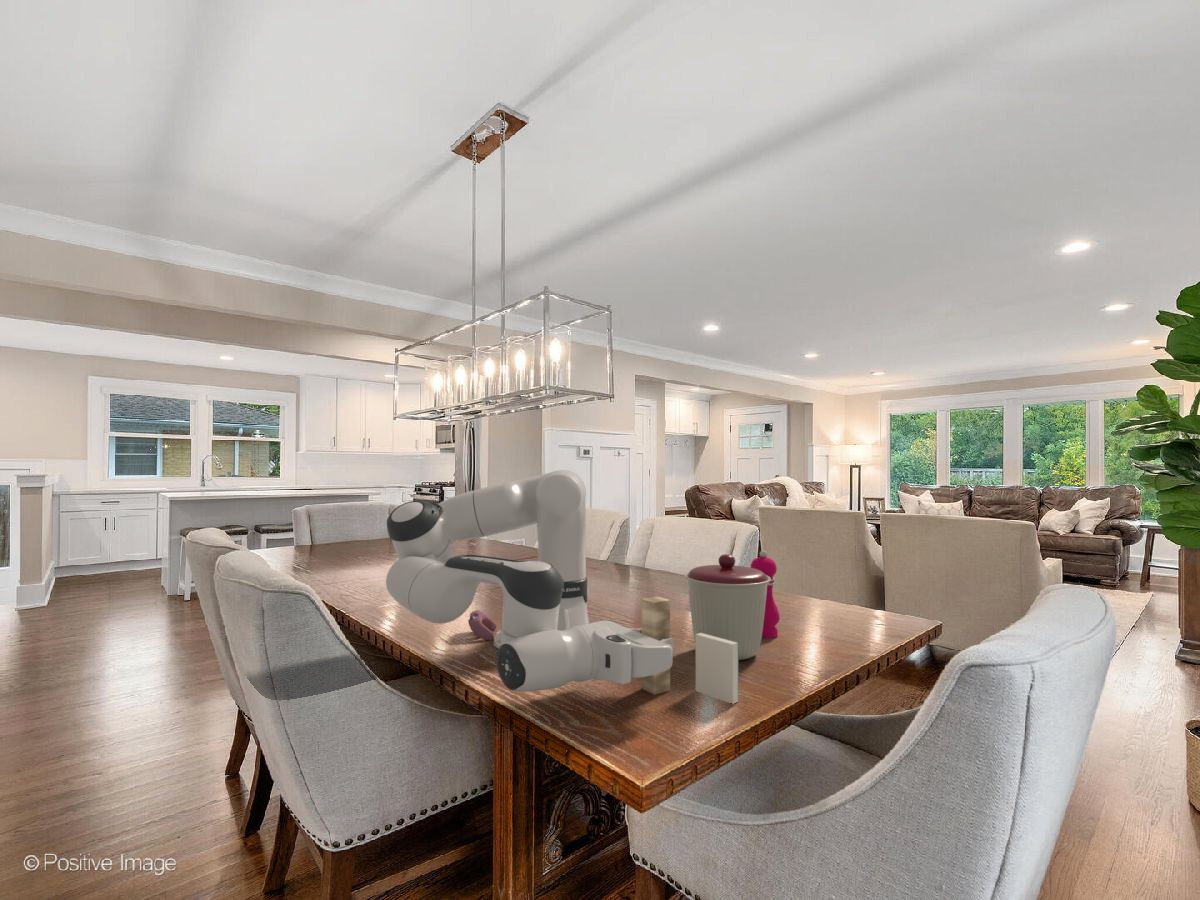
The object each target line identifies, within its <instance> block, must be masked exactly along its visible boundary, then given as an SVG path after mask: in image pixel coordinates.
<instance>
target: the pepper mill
mask: <svg viewBox="0 0 1200 900" xmlns="http://www.w3.org/2000/svg"><path fill="white" fill-rule="evenodd" d="M777 567H778V566H777V564H776V562H775V561H774V560H773V558H770V557H768V551H766V550H760V552H759V556H758V557H755V558H754V559H752V561H751V562H750V568H754V569H757V570H760V571H762V572H763V573H764V574H765V575H767V576H769V577H770V578H771V581H770V582H769V583H768V584H767V595H766V604H765V614H764V623H763V631H762V638H761V639H775V638H777V637H778V635H779V634H778V633H779V631H778V628H777V625H778V623H779V622H780V612H779V609H778V606H777V604H776V601H775V599H774V595H773V586H774V585H775V578H774V576H775V575H776V573H777ZM774 637H775V638H774Z"/></svg>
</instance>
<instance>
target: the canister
mask: <svg viewBox="0 0 1200 900" xmlns="http://www.w3.org/2000/svg"><path fill="white" fill-rule="evenodd" d="M735 564H736V559H735V556H733V555H731V554H721V555H720V556H719V557H718V564H710V565H700V566H697V567H694V568H692V569H691V570H689V571H687V572H686V573H685V574H684V575H683V576H684V578H685V580H686V581H687V589H688V590H687V591H688V598H689V599H688V600H689V606H690V607H689V608H690V617H691V625H692V626H691V627H692V633H693V640H694V643H695V645H696V634H698V633H704V634H708V635H712V636H716V637H719V638H723V639H727V640H730V641H734V642H738V661H742V660H743V661H744V660H747V659H751V658H753V657H755V655H757V653H758V652H759V650H760V648H761V643H762V639H763V638H762V631H763V623H764V614H765V604H766V595H767V584H768V583H769V582H770V581H771V578H770V577H769V576H767V575H765V574H764V573H763V572H762V571H760V570H757V569H754V568H751V566H750V567H749V566H744V565H743V566H742V565H735Z"/></svg>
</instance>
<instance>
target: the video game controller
mask: <svg viewBox="0 0 1200 900" xmlns="http://www.w3.org/2000/svg"><path fill="white" fill-rule="evenodd" d="M467 620H468V626H469V627H470V628H469V629H470V630H471V633H473V634H474V635H475V636H476V637H477V638H478V639H479V638H481V639H483V640H484V641H492V640H494V633H493V632H492V631H496V629H497V623H496V622H495V620H493V619H491V617H489V616H488V615H486V613H485V612H484V611H482V610H481V609H479V610H478V609H476V610H475V609H474V611H471V612H470V614H469V619H467Z"/></svg>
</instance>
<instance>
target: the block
mask: <svg viewBox="0 0 1200 900" xmlns="http://www.w3.org/2000/svg"><path fill="white" fill-rule="evenodd" d="M641 628H642V634H644V635H646V636H649V637H651V638H653V639H656V640H658V641H661V638H663V637H670V638H671V600H670V599H668V598H664V597H660V596H657V595H656V596H651V597H644V598H641ZM641 689H642V690H644V691H646V692H648V693H649V694H651V695H655V696H656V695H658V694H663V693H666V692H670V691H671V668H670V669H669V670H667V671H664V672H661V673H657V674H654V675H650V676H646V677H641Z"/></svg>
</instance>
